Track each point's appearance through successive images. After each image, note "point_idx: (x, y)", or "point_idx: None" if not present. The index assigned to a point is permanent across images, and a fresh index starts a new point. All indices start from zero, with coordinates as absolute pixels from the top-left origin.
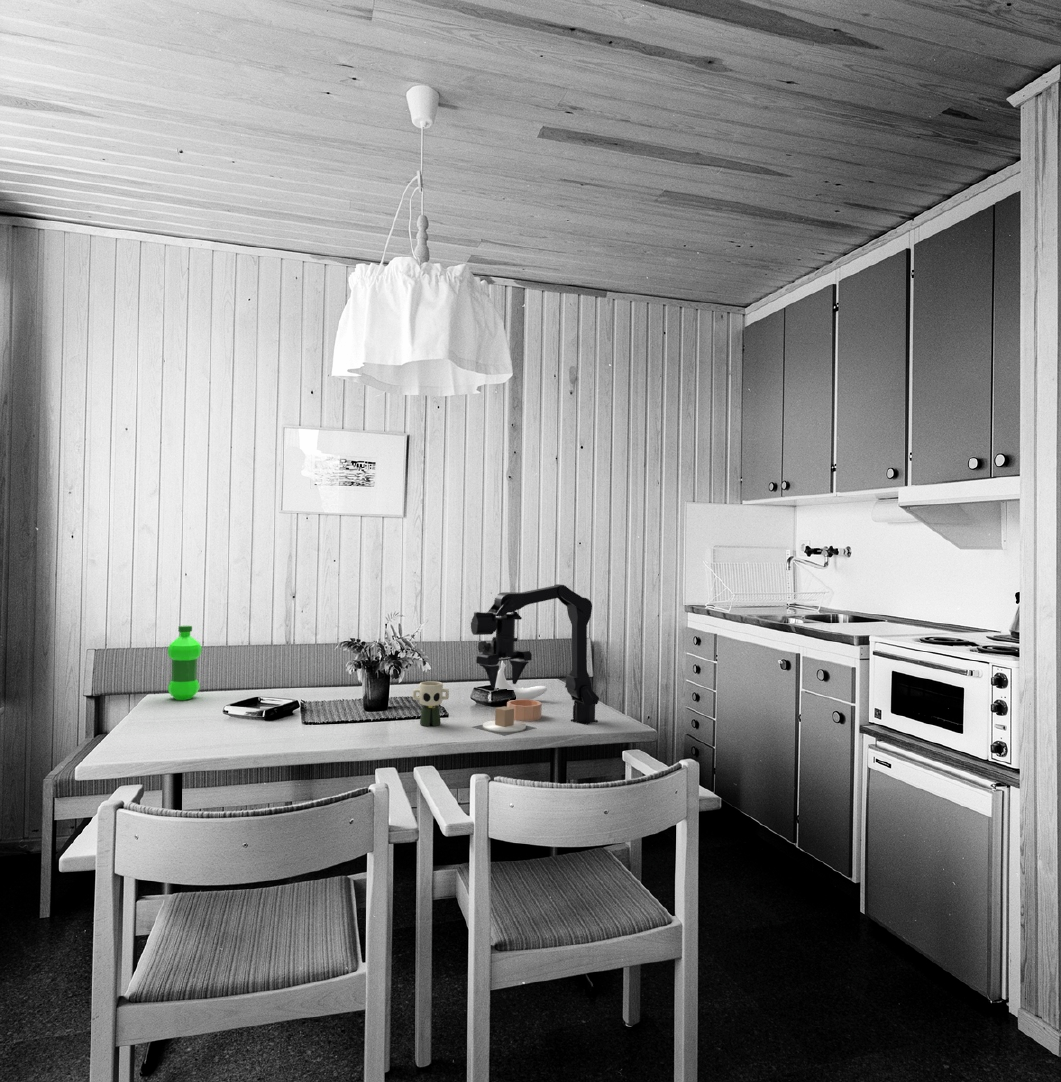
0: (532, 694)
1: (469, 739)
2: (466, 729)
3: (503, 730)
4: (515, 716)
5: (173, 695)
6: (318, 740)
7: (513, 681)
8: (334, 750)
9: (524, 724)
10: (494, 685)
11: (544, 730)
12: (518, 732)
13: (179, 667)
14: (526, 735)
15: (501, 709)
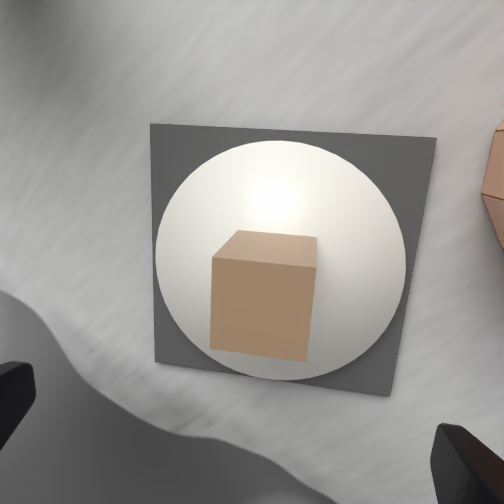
0: None
1: (21, 267)
2: (124, 114)
3: (186, 333)
4: (497, 195)
5: None
6: None
7: (447, 465)
8: None
9: (362, 346)
10: (5, 426)
11: (401, 423)
12: (249, 375)
13: None
14: (258, 409)
15: (213, 315)
